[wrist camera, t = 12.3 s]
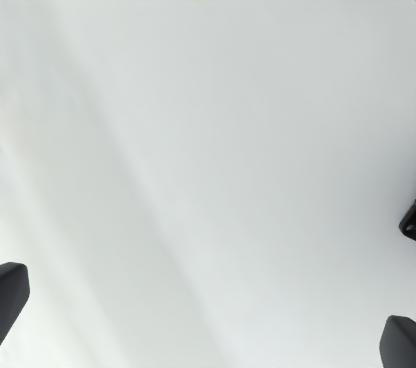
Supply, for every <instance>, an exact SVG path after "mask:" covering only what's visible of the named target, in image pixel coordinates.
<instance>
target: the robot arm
mask: <svg viewBox="0 0 416 368" xmlns="http://www.w3.org/2000/svg"><path fill="white" fill-rule="evenodd" d="M410 225H413V227H412V228H411V229H410V230H406V229H407V227H408V226H410ZM399 229H400V231H401V232H402V233H403V234H404V235H405V236H407V237H409V238H411V239H413V240H415V241H416V200H415V204H414V206H413V207H412V208H411V210H410V211H409V212H408V214H407V215H406V216H405V218H404V219H403V220H402V222H401V223H400V225H399ZM29 295H30V287H29V278H28V270H27V267H26V265H24V264H21V263H14V262H8V263H5V264H2V265H0V345H1V344H2V342H3V340H4V339H5V337H6V335H7V334H8V332H9V330H10V329H11V327H12V325H13V324H14V322H15V320H16V319H17V317H18V315H19V314H20V312H21V311H22V309H23V307H24V306H25V304H26V302H27V300H28V298H29ZM380 355H381V359H382V363H383V367H384V368H416V322H414V321H413V320H411V319H410V318H408V317H402V316H395V315H391V316H389V317H388V319H387V321H386V324H385V328H384V331H383V334H382V337H381V340H380Z"/></svg>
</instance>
